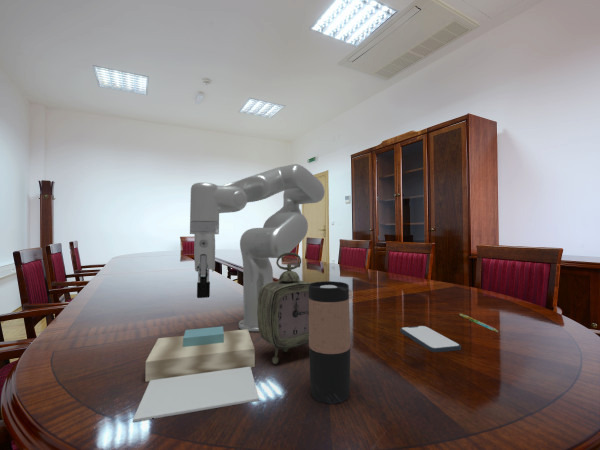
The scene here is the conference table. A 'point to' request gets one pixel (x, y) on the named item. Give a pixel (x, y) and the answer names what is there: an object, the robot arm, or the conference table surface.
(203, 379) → the mat
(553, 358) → the conference table surface
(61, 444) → the conference table surface
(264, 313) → the tabletop clock
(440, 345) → the phone case
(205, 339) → the blue rectangular block
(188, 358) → the beige flat block
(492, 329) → the pencil
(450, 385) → the conference table surface
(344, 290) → the travel mug
